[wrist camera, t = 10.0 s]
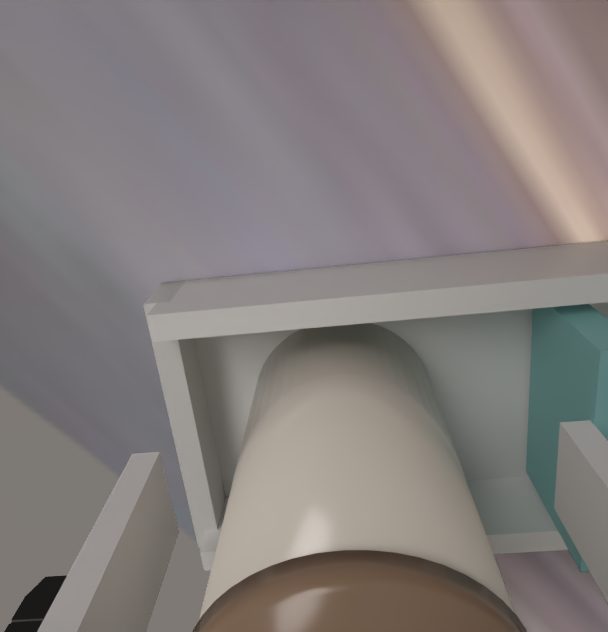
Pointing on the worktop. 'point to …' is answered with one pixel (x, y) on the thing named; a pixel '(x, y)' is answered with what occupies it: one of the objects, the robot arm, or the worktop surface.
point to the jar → (351, 501)
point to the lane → (406, 322)
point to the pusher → (564, 392)
